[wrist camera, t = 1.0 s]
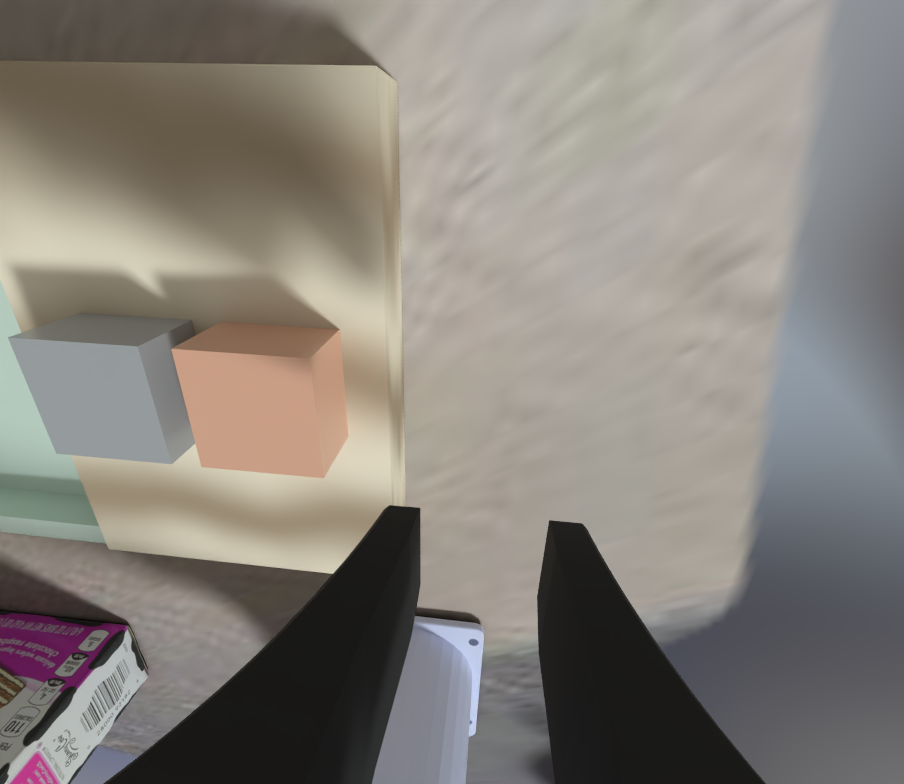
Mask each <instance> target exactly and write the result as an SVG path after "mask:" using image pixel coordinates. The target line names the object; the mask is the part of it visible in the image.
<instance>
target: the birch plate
mask: <svg viewBox="0 0 904 784" xmlns="http://www.w3.org/2000/svg"><path fill="white" fill-rule="evenodd" d="M0 281H1V283H2V286H3V288H4V291H5V293H6V295H7V298H8V300H9V303H10V305H11V308H12V310H13V313H14V315H15V318H16V320H17V323H18V325H19V328H20V330H21V333H22V332H25V331H28V330H31V329H34V328H37V327H40V326H43V325H46V324H49V323H52V322H54V321H57V320H60V319H63V318H66V317H69V316H72V315H75V314H78V313H89V314H105V315H120V316H136V317H152V318H168V319H183V320H192V322H193V327H194V331H195V335H198V334H199V333H201V332H203V331H205V330H207V329H209V328H211V327H212V326H214V325H216V324H218V323H220V322H231V323H246V324H262V325H278V326H294V327H309V328H325V329H340V338H341V350H342V362H343V375H344V387H345V399H346V411H347V423H348V435H349V436H348V438H347V440H346V441H345V443H344V445H343V447H342V448H341V450H340V452H339V453H338V455H337V457H336V458H335V460H334V462H333V463H332V465H331V467H330V469H329V470H328V472H327V474H326V475H325V477H324V478H315V477H304V476H293V475H282V474H271V473H260V472H250V471H239V470H228V469H217V468H206V467H201V463H200V460H199V456H198V452H197V448H196V444H194V445H193V446H192V447H191V448H190V449H188V450H187V451H186V452H185V453H184V454H183V455H182V456H181V457H179V458H178V459H177V460H176V461H175V462H174V463H173V464H163V463H152V462H141V461H130V460H119V459H108V458H97V457H86V456H75V455H71V457H72V460H73V462H74V465H75V467H76V469H77V472H78V474H79V477H80V479H81V482H82V484H83V487H84V489H85V492H86V494H87V497H88V499H89V502H90V504H91V507H92V509H93V512H94V514H95V517H96V519H97V522H98V524H99V527H100V529H101V532H102V534H103V537H104V539H105V542H106V544H107V547H108V549H111V550H120V551H130V552H139V553H148V554H157V555H166V556H175V557H184V558H193V559H202V560H212V561H221V562H230V563H239V564H248V565H257V566H266V567H275V568H284V569H294V570H303V571H312V572H321V573H330V574H333V573H334V572H335V571H336V570H337V569H338V568H339V566H340V565H341V564H342V563H343V562H344V561H345V559H346V558H347V557H348V556H349V555H350V553H351V552H352V551H353V550H354V548H355V547H356V546H357V545H358V543H359V542H360V541H361V540H362V538H363V537H364V536H365V534H366V533H367V532H368V531H369V529H370V528H371V527H372V525H373V524H374V522H375V521H376V520H377V518H378V517H379V516H380V514H381V513H382V511H383V510H384V509H385V508H386V507H388V506H389V505H393V506H404V507H406V489H405V439H404V388H403V338H402V288H401V238H400V188H399V138H398V87H397V81H395V80H394V79H393V78H392V77H390V76H389V75H388V74H386V73H385V72H384V71H382V70H381V69H380V68H378V67H377V66H364V65H291V64H218V63H145V62H72V61H0Z"/></svg>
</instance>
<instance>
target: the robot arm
mask: <svg viewBox="0 0 904 784" xmlns="http://www.w3.org/2000/svg"><path fill="white" fill-rule="evenodd" d="M419 589H420V508H414V507H404V506H393V505H389V506H388V507H386V508H385V509H384V510H383V511H382V513H381V514H380V516H379V517H378V518H377V520H376V521H375V522H374V524H373V525H372V527H371V528H370V529H369V531H368V532H367V533H366V534H365V536H364V537H363V538H362V540H361V541H360V542H359V543H358V545H357V546H356V547H355V548H354V550H353V551H352V552H351V553H350V555H349V556H348V557H347V558H346V559H345V561H344V562H343V563H342V564H341V565H340V566H339V568H338V569H337V570H336V571H335V572H334V573H333V575H332V576H331V577H330V578H329V579H328V580H327V582H326V583H325V584H324V585H323V586H322V587H321V588H320V590H319V591H318V592H317V593H316V594H315V595H314V596H313V597H312V598H311V599H310V600H309V602H308V603H307V604H306V605H305V606H304V607H303V608H302V609H301V610H300V611H299V612H298V613H297V614H296V615H295V616H294V617H293V618H292V619H291V620H290V622H289V623H288V624H287V625H286V626H285V627H284V628H283V629H282V630H281V631H280V632H279V633H278V634H277V635H276V636H275V637H274V638H273V639H272V640H271V641H270V642H269V643H268V644H267V645H266V646H265V647H264V648H263V649H262V650H261V651H260V652H259V653H258V654H257V655H256V656H255V657H254V658H252V659H251V660H250V661H249V662H248V663H247V664H246V665H245V666H244V667H243V668H242V669H241V670H240V671H238V672H237V673H236V674H235V675H234V676H233V677H232V678H231V679H230V680H229V681H228V682H227V683H225V684H224V685H223V686H222V687H221V688H220V689H219V690H218V691H217V692H215V693H214V694H213V695H212V696H211V697H210V698H208V699H207V700H206V701H205V702H204V703H203V704H201V705H200V706H199V707H198V708H197V709H196V710H194V711H193V712H192V713H191V714H190V715H189V716H187V717H186V718H185V719H184V720H183V721H182V722H180V723H179V724H178V725H177V726H176V727H175V728H173V729H172V730H171V731H170V732H169V733H167V734H166V735H165V736H164V737H162V738H161V739H160V740H159V741H158V742H156V743H155V744H154V745H153V746H151V747H150V748H149V749H148V750H146V751H145V752H144V753H143V754H141V755H140V756H139V757H138V758H137V759H135V760H134V761H133V762H131V763H130V764H129V765H127V766H126V767H125V768H124V769H122V770H121V771H120V772H118V773H117V774H116V775H114V776H113V777H112V778H110V779H109V780H108V781H106V782H105V783H104V784H465V783H466V768H467V754H468V739H469V736H472V735H474V734H475V731H476V720H477V708H478V697H479V686H480V675H481V664H482V652H483V641H484V628H483V627H482V626H481V625H480V624H477V623H472V622H463V621H454V620H446V619H437V618H429V617H420V616H415V613H416V607H417V601H418V595H419ZM537 603H538V642H539V657H540V666H541V674H542V682H543V690H544V698H545V706H546V713H547V721H548V729H549V737H550V745H551V753H552V760H553V768H554V776H555V784H766V783H765V782H764V781H763V780H762V779H761V777H760V776H759V775H758V774H757V773H756V772H755V770H754V769H753V768H752V767H751V766H750V765H749V763H748V762H747V761H746V760H745V759H744V757H743V756H742V755H741V754H740V752H739V751H738V750H737V749H736V747H735V746H734V745H733V744H732V742H731V741H730V740H729V739H728V738H727V736H726V735H725V734H724V733H723V731H722V730H721V729H720V728H719V727H718V725H717V724H716V723H715V721H714V720H713V719H712V718H711V716H710V715H709V714H708V712H707V711H706V710H705V709H704V707H703V706H702V705H701V703H700V702H699V701H698V699H697V698H696V697H695V695H694V694H693V693H692V692H691V690H690V689H689V687H688V686H687V685H686V683H685V682H684V681H683V679H682V678H681V676H680V675H679V674H678V672H677V671H676V670H675V668H674V667H673V665H672V664H671V663H670V661H669V660H668V659H667V657H666V656H665V654H664V653H663V651H662V650H661V649H660V647H659V646H658V644H657V643H656V641H655V640H654V638H653V637H652V636H651V634H650V633H649V631H648V629H647V628H646V626H645V625H644V623H643V622H642V620H641V619H640V617H639V616H638V614H637V613H636V611H635V610H634V608H633V607H632V605H631V604H630V602H629V601H628V599H627V597H626V596H625V594H624V593H623V591H622V589H621V588H620V586H619V585H618V583H617V581H616V580H615V578H614V576H613V575H612V573H611V571H610V570H609V568H608V566H607V564H606V563H605V561H604V559H603V558H602V556H601V554H600V552H599V550H598V549H597V547H596V545H595V543H594V541H593V540H592V538H591V536H590V534H589V532H588V530H587V529H586V527H585V526H584V525H583V524H581V523H571V522H560V521H550V520H549V526H548V532H547V538H546V545H545V551H544V557H543V564H542V570H541V576H540V583H539V589H538V596H537Z"/></svg>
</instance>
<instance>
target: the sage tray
mask: <svg viewBox="0 0 904 784" xmlns="http://www.w3.org/2000/svg"><path fill="white" fill-rule="evenodd" d="M19 333H21V330H20V328H19V325H18V323H17V320H16V318H15V315H14V313H13V310H12V308H11V305H10V303H9V300H8V298H7V295H6V293H5V291H4V288H3V286H2V283H1V281H0V532H5V533H14V534H24V535H33V536H42V537H51V538H60V539H70V540H79V541H88V542H97V543H106V542H105V539H104V537H103V534H102V532H101V529H100V527H99V524H98V522H97V519H96V517H95V514H94V512H93V509H92V507H91V504H90V502H89V499H88V497H87V494H86V492H85V489H84V487H83V484H82V482H81V479H80V477H79V474H78V472H77V469H76V467H75V465H74V462H73V460H72V457H71V455H65V454H56V452H55V449H54V447H53V445H52V442H51V440H50V437H49V435H48V433H47V430H46V428H45V426H44V423H43V421H42V418H41V416H40V414H39V411H38V409H37V406H36V404H35V402H34V399H33V397H32V394H31V392H30V390H29V387H28V385H27V382H26V380H25V378H24V375H23V373H22V371H21V368H20V366H19V363H18V361H17V359H16V356H15V354H14V351H13V349H12V347H11V344H10V342H9V339H8V337H11V336H14V335H16V334H19Z"/></svg>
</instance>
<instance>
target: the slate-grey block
mask: <svg viewBox="0 0 904 784" xmlns="http://www.w3.org/2000/svg"><path fill="white" fill-rule="evenodd" d="M194 336H196V335H195V331H194V327H193V322H192V320H183V319H168V318H152V317H136V316H120V315H105V314H89V313H78V314H75V315H72V316H69V317H66V318H63V319H60V320H57V321H54V322H52V323H49V324H46V325H43V326H40V327H37V328H34V329H31V330H28V331H25V332H22V333H19V334H16V335H14V336H11V337H8V339H9V342H10V344H11V347H12V349H13V351H14V354H15V356H16V359H17V361H18V363H19V366H20V368H21V371H22V373H23V375H24V378H25V380H26V382H27V385H28V387H29V390H30V392H31V394H32V397H33V399H34V402H35V404H36V406H37V409H38V411H39V414H40V416H41V418H42V421H43V423H44V426H45V428H46V430H47V433H48V435H49V437H50V440H51V442H52V445H53V447H54V449H55V452H56V454H65V455H75V456H86V457H97V458H108V459H119V460H130V461H141V462H152V463H163V464H173V463H174V462H175V461H176V460H177V459H178V458H179V457H181V456H182V455H183V454H184V453H185V452H186V451H187V450H188V449H190V448H191V447H192V446H193V445H194V444H195V440H194V436H193V432H192V428H191V424H190V421H189V417H188V413H187V409H186V405H185V401H184V397H183V393H182V389H181V385H180V382H179V378H178V374H177V370H176V366H175V362H174V358H173V354H172V350H171V349H172V348H174V347H175V346H177V345H179V344H181V343H183V342H185V341H187V340H188V339H190V338H192V337H194Z"/></svg>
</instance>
